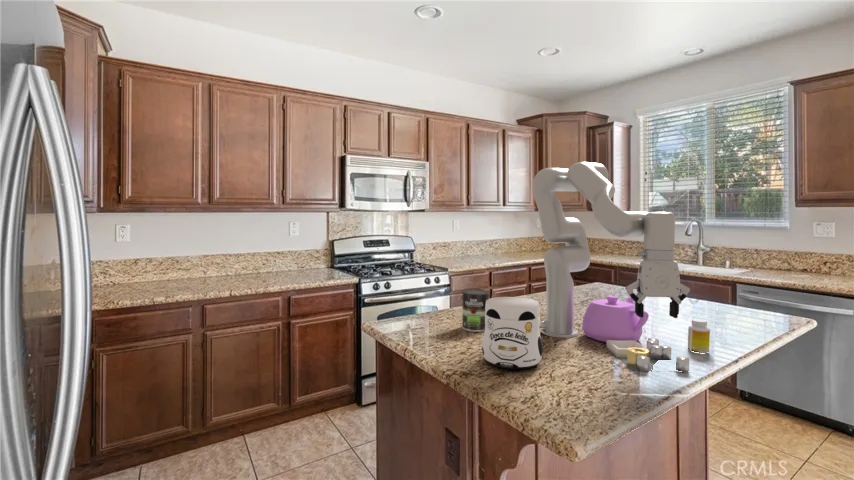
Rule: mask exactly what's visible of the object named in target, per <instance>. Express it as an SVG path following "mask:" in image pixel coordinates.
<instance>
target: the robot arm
mask: <svg viewBox="0 0 854 480" xmlns="http://www.w3.org/2000/svg"><path fill="white" fill-rule="evenodd" d="M609 175H610V174H609V171H608V169H607V167H606V166H605V165H604V164H602V163H598V162H589V161H579V162H575V163H572V164H571V165H570V166H569V168H564V167H562V168H561V167H545V168H542V169H541V170H539V171H538V172H537V173H536V174H535V176H534V177H533V181H532V193H533V194H532V195H533V199H534V201H535V204H536V207H537V211H538V217H539V221H540V226H541V230H542V235H543V238H544V241H545V242H547V243H550V244H565V245H562V246H561V245H559V246H554V247H551V248H549V249H548V250H546V252H545V254H544V257H543V265H544V271H545V278H546V281H545V282H546V283H545V284H546V294H545V295H546V298H545V299H546V300H545V302H546V303H545V305H546V306H545V318H544V319H543V320H540V329H541V333H542V334H543V335H545V336H548V337H554V338H561V339H563V338H564V339H566V338H567V339H568V338H575V337H577V336H578V335H579V331H578V330H577V329H576V328H574V322H575V321H574V320H575V317H574V315H575V283H574V280H573V277H572V275H571V273H577V272H582V271H585V270H586V269H587V268H588V267H589V266H590V265H591V264H590V263H591V252H590V248H589V244H588V243H589V242H588V239H587V234H586V233H587V232H586V230H585V227H584V225H583V223H582V222H581V221H580V220H579V219H578V218H576V217H566V216H565V213H564V209H563V205H562V202H561V201H560V199H559V198H558V196H557V195H556V194H555V193H556V192H557V193H558V192H561V193H563V192H565V193H573V192H574V193H575V192H579V193H580V194H581V195H582V196H583V197H584V198H585V199H586V200H587V201H589V203H591V209H592V213H593V215H594V218H595V219H596V220H597V222H598V223H599V224H600V225H601V226H602V227H603V228H604V229H605V230H606V231H608V233H609V234H611V235H613V236H615V237H618V238H636V237H637V238H639V237H643V249H642V251H638V254H637V255H638V257H642V259H640V262H639V266H638V270H637V277H636V281H634V282H631V284H629V285H626V286H625V290H626V292H627V294H628V297H629V296H630V297H631V298H632V299H633V300H634V301H633V302H634V305H635V313H636V315H637V316H639V317H640V318H643V315H644V311H645V310H644V309H645V305H644V303H643V301H644V300H645V299H646V298H669V299H670V300H671V301H670V302H669V312H668V315H669V316H670V317H672V318H674V319H678V317H679V313H680V305H681V304H682V301H684V300H685V299H686V298H687V296H688V294H689V293H690V291H691V288H690V287H688V286H686V285H684V284H683V283H681V278H680V269H679V263H678V261H676V260H675V239H676V237H675V235H676V215H675V214H674V213H673V212H671V211H651V212H650V211H649V212H648V211H638V210H637V211H633V210H632V211H631V210H630V211H629V210H628V211H627V210H622V209H621V208H619V206H618V205H616V204H615V203H614V202H613V200H612V199H613V197H614V195H615V193H616V188H615V185H614V183H611V182H610V180H609ZM635 289H636V292H637V294H635V291H634V290H635Z"/></svg>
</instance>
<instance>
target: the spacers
mask: <svg viewBox="0 0 854 480" xmlns="http://www.w3.org/2000/svg"><path fill="white" fill-rule="evenodd" d="M646 348H647V349H648V350H649V354H651V359H654V360H672V347H671V346H668V345H660V340H659V339H658V338H655V337H648V339H647V340H646ZM675 362H676V370H678V371H682V372H688V371H689V372H690V358H689V357H686V356H676V360H675ZM636 369H637V370H638V371H637V372H643V373H648V371H649V357H646V356H637V364H636ZM682 372H681V373H682Z"/></svg>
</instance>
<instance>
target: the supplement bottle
mask: <svg viewBox="0 0 854 480" xmlns="http://www.w3.org/2000/svg"><path fill="white" fill-rule="evenodd" d="M710 332H711V330H710V327H709V326H708V322H707V320H705V319H701V318H691V324H689V325H688V330H687V335H688V336H687V351H688V350H690V351H694V352H699V353H707V352H709V353H710V335H711V333H710ZM690 351H689V352H690Z"/></svg>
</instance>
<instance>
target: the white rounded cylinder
mask: <svg viewBox="0 0 854 480" xmlns="http://www.w3.org/2000/svg"><path fill="white" fill-rule="evenodd" d="M540 306H541V305H540V302H538V301H537V300H535V299H531V298H527V297H518V296H497V297H491V298H489V299H488V300H486V305H485V331H483V332H484V333H483V336H482V340H481V351H482V356H483V359H484V360H485V361H486V362H488V363H489V364H491V365H492V366H494V367H498V368H502V369H509V370H525V369H530V368H533V367H535V366H537V365H539V364H540V362H541V360H542V357H543V354H544V353H543V351H544V348H543V347H544V346H543V341H542V337H541V332H540V329H541V328H540V322H541V317H540V315H541V309H540V308H541V307H540Z"/></svg>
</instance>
